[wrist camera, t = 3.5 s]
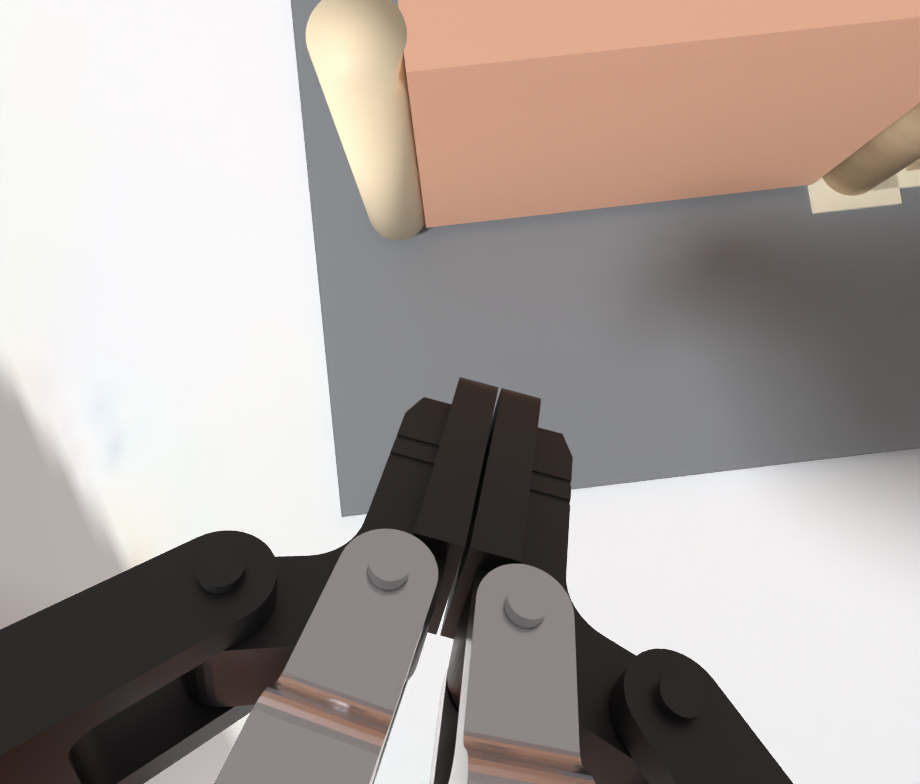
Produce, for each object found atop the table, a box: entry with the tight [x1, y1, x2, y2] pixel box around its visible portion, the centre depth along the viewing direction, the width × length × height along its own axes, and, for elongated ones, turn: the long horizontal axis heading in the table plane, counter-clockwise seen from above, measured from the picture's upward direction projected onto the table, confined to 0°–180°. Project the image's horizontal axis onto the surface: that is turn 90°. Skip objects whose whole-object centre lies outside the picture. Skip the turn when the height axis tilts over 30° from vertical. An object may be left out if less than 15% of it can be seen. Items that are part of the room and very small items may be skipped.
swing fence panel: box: [306, 0, 920, 240], centre depth 16 cm, size 2×14×8 cm, turn 97°
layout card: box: [291, 0, 920, 517], centre depth 21 cm, size 21×28×1 cm
